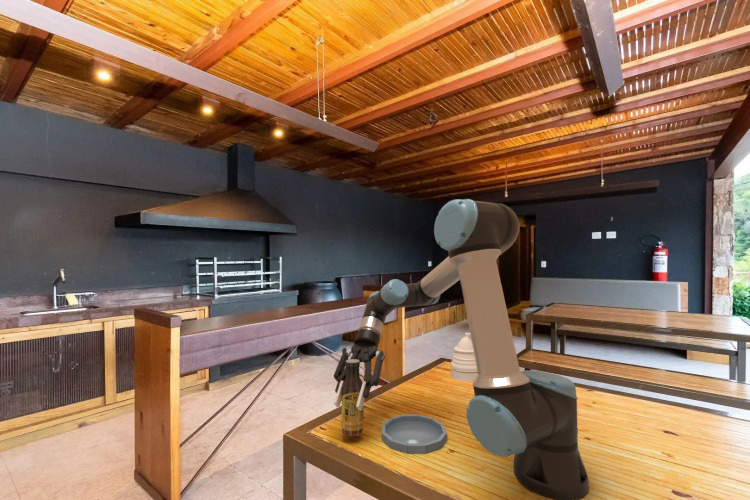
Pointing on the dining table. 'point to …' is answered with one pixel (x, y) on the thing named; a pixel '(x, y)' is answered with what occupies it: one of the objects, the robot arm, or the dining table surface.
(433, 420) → the serving plate
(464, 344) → the honey pot
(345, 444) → the dining table surface
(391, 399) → the dining table surface
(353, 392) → the sauce bottle
